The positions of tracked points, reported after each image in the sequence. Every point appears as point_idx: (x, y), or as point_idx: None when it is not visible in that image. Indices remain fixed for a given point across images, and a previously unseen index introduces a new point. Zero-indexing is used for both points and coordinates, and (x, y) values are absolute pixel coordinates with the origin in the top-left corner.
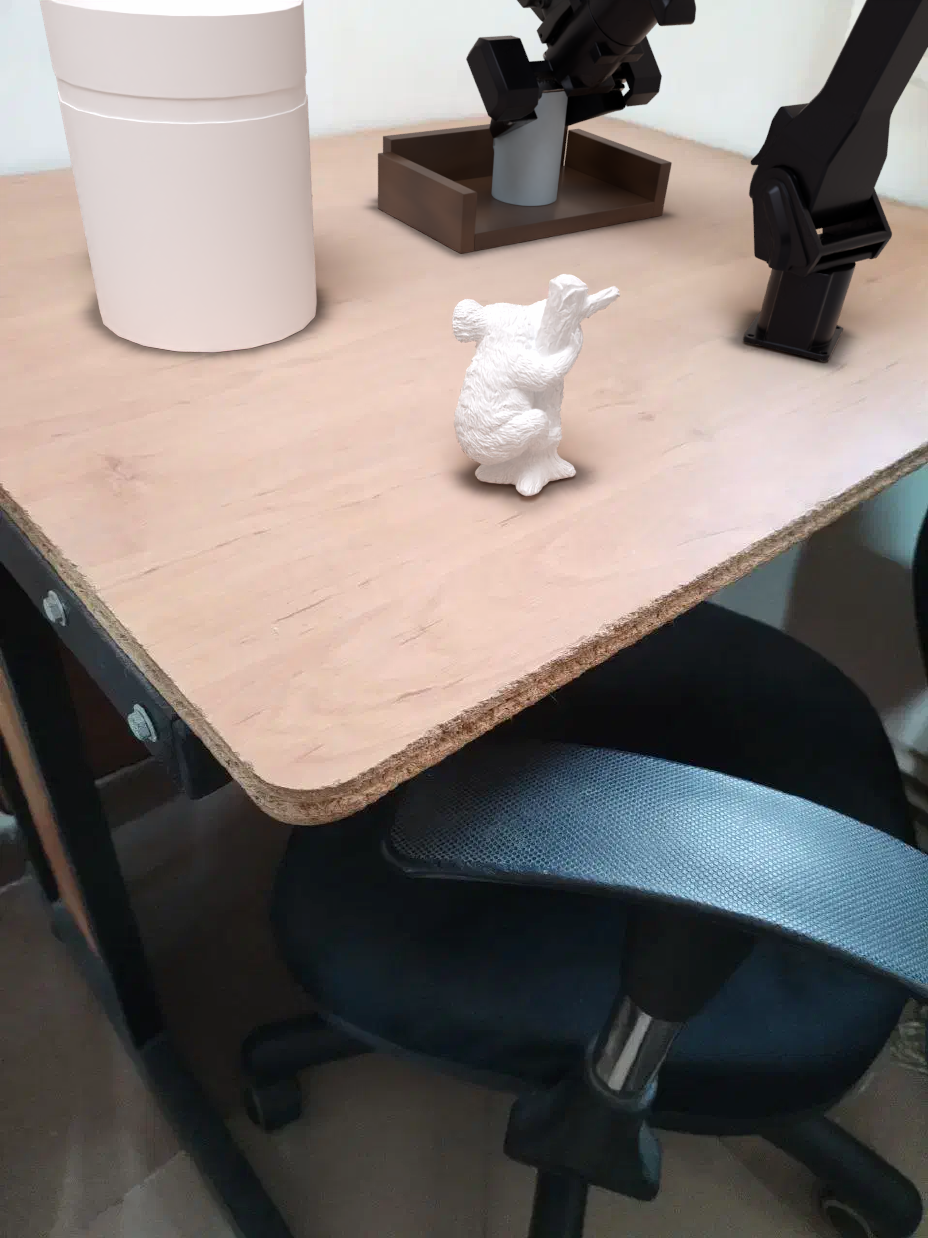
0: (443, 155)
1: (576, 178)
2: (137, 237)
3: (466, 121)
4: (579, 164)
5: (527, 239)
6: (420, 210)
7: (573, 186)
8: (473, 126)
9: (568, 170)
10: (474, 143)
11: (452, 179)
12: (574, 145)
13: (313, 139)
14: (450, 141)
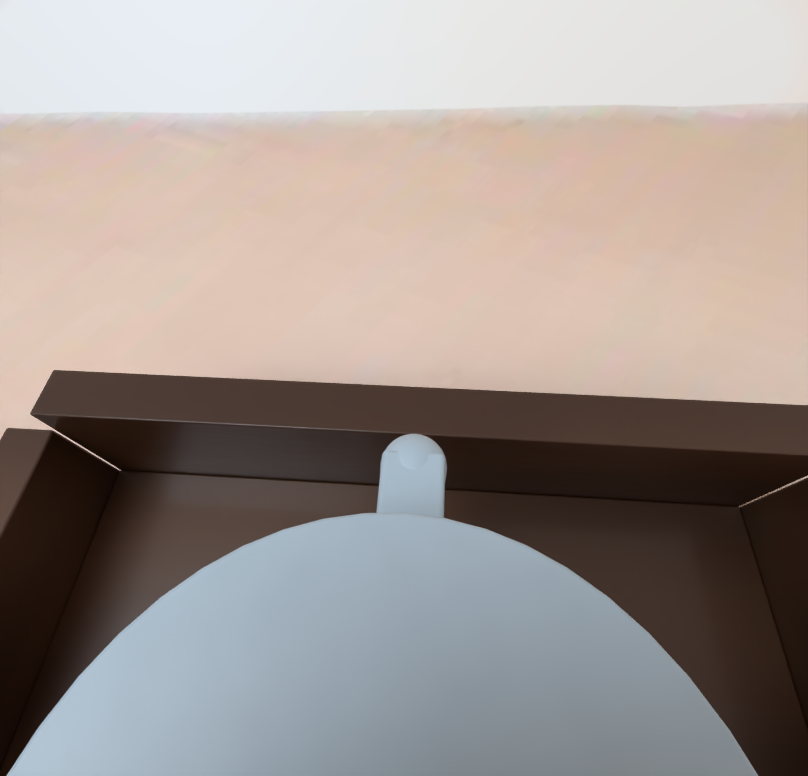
0: (261, 452)
1: (714, 652)
2: None
3: (690, 126)
4: (777, 582)
5: None
6: None
7: None
8: (404, 393)
9: (728, 561)
10: (378, 449)
11: (315, 479)
12: (802, 530)
13: (348, 124)
14: (275, 438)
